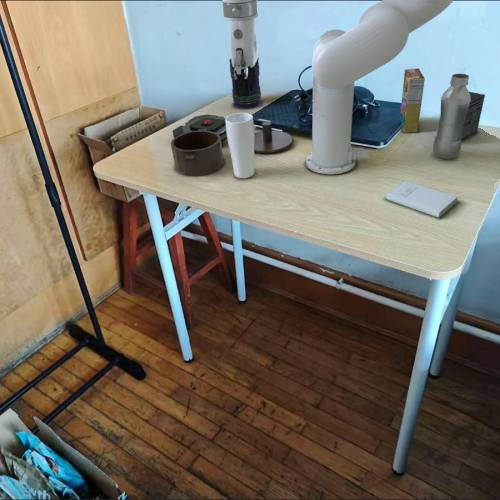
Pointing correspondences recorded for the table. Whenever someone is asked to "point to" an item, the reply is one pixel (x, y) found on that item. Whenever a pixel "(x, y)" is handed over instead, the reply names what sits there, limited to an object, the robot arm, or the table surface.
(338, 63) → the robot arm
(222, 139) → the four-lobed dark green device
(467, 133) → the small box
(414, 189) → the hard drive
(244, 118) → the drinking glass
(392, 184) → the table surface
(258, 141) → the lid
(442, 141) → the plastic bottle
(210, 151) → the two-handled cooking pot
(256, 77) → the storage jar
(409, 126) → the candy box
